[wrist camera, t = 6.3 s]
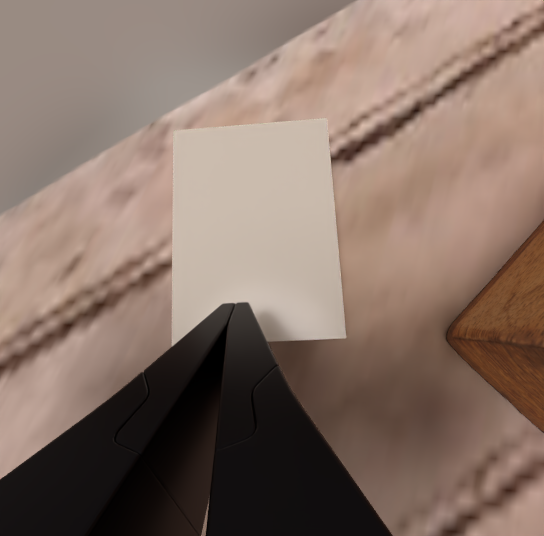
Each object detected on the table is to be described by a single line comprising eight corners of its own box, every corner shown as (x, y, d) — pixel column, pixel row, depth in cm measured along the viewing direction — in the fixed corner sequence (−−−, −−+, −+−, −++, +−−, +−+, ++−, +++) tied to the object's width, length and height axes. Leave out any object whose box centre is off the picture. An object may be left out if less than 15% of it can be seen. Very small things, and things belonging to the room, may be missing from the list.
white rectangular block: (346, 338, 13) (326, 118, 15) (171, 346, 14) (173, 130, 16) (337, 335, 16) (321, 146, 18) (190, 341, 16) (189, 156, 18)
